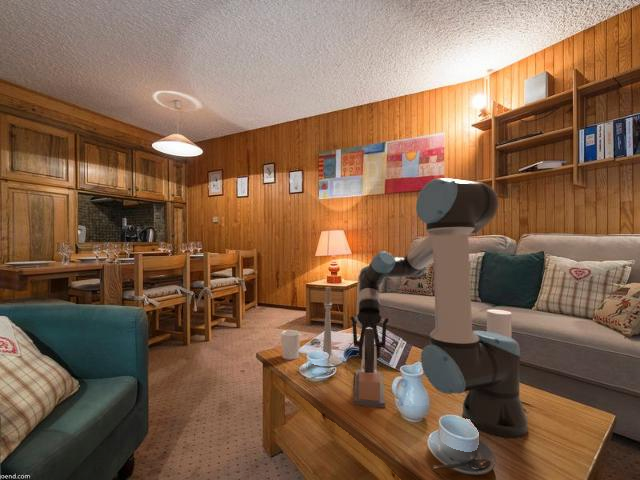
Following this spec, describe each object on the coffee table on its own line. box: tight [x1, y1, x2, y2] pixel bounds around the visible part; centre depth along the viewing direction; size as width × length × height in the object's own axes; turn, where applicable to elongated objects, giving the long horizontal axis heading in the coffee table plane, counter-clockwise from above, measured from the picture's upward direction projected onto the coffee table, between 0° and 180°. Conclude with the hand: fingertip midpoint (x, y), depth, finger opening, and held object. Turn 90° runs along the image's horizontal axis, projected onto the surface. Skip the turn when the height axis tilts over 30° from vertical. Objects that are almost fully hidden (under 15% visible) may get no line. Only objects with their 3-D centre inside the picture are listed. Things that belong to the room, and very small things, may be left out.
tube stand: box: [353, 365, 386, 408], centre depth 99 cm, size 22×9×6 cm, turn 172°
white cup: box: [280, 329, 301, 360], centre depth 125 cm, size 8×8×10 cm
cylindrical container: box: [486, 308, 513, 338], centre depth 101 cm, size 7×7×25 cm
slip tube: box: [364, 328, 375, 373], centre depth 96 cm, size 12×3×17 cm, turn 172°
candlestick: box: [322, 286, 344, 367], centre depth 121 cm, size 13×13×30 cm
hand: (369, 367), depth 95 cm, fingers closed on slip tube, 3 cm apart
